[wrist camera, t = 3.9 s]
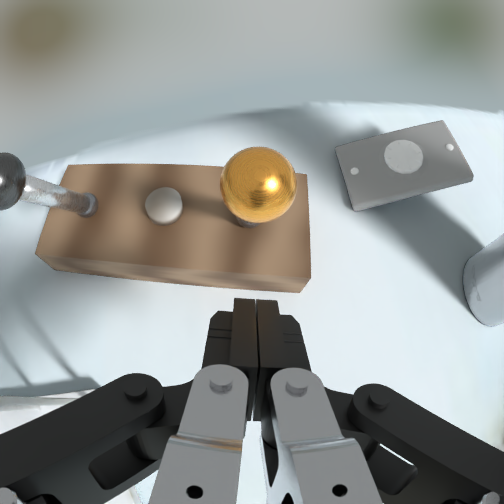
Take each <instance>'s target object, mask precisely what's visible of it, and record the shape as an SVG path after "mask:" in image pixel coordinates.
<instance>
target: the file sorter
mask: <svg viewBox="0 0 504 504" xmlns="http://www.w3.org/2000/svg"><path fill="white" fill-rule="evenodd" d="M94 390H96V389H90V390H83V391H77V392H70V393H62V394H55V395H46V396H37V397H23V396H0V434H2V433H4V432H7V431H9V430H11V429H13V428H16V427H18V426H20V425H22V424H25V423H27V422H29V421H31V420H34V419H36V418H38V417H40V416H42V415H44V414H46V413H49V412H51V411H53V410H55V409H57V408H59V407H61V406H63V405H65V404H68V403H70V402H72V401H74V400H76V399H78V398H80V397H82V396H84V395H86V394H88V393H90V392H92V391H94ZM104 504H142V502H141V499H140V497H139V495H138V492H137V490H136V487H135V485H134V486H132V487H131V488H129V489H128V490H126V491H124V492H123V493H121V494H120V495H118V496H116V497H115V498H113V499H111V500H110V501H108V502H106V503H104Z"/></svg>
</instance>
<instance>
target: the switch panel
mask: <svg viewBox="0 0 504 504" xmlns="http://www.w3.org/2000/svg"><path fill="white" fill-rule="evenodd" d="M223 169H224V167H219V166H201V165H176V164H82V165H68V167H67V169H66V171H65V173H64V176H63V178H62V180H61V183H60V185H59V186H61V187H64V188H67V189H70V190H73V191H76V192H79V193H81V194H82V193H85V192H89V193H92V194H94V195H95V196H96V198H97V200H98V204H99V205H98V210H97V212H96V213H95V214H94V215H93V216H92V217H89V218H83V217H81V216H79V215H78V214H77V213H76V212H71V211H67V210H62V209H57V208H53V207H51V208H50V210H49V213H48V216H47V218H46V221H45V224H44V227H43V230H42V233H41V236H40V239H39V242H38V245H37V248H36V252H35V254H36V255H37V256H38V257H39V258H41V259H42V260H43V261H44V262H46V263H47V264H48V265H49V266H50V267H52V268H53V269H54V270H59V271H67V272H74V273H82V274H90V275H99V276H107V277H116V278H125V279H134V280H143V281H153V282H163V283H174V284H185V285H196V286H207V287H220V288H232V289H246V290H260V291H275V292H292V293H300V292H301V291H302V289H303V288H304V287H305V285H306V284H307V283H308V281H309V280H310V279H311V256H310V226H309V204H308V186H307V174H299V173H295V174H296V178H297V192H296V196H295V199H294V201H293V203H292V205H291V206H290V208H289V209H288V210H287V211H286V212H285V213H284V214H283V215H282V216H280V217H279V218H277V219H275V220H272V221H269V222H265V223H260V224H259V225H258V226H257V227H254V228H245V227H243V226H241V225H240V224H239V223H238V221H237V219H236V215H234V214H233V213H232V212H231V211H230V210H229V209H228V208H227V206H226V205H225V203H224V201H223V199H222V196H221V192H220V178H221V174H222V171H223Z"/></svg>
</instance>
